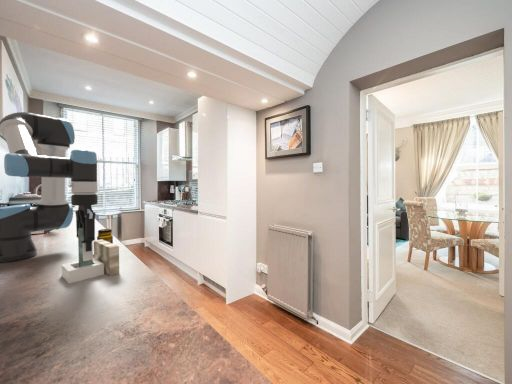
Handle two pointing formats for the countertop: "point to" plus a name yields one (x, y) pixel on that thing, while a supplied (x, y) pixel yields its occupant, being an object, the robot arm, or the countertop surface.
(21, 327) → the countertop surface
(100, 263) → the socket block
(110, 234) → the condiment
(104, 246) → the wall
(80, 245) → the dowel
